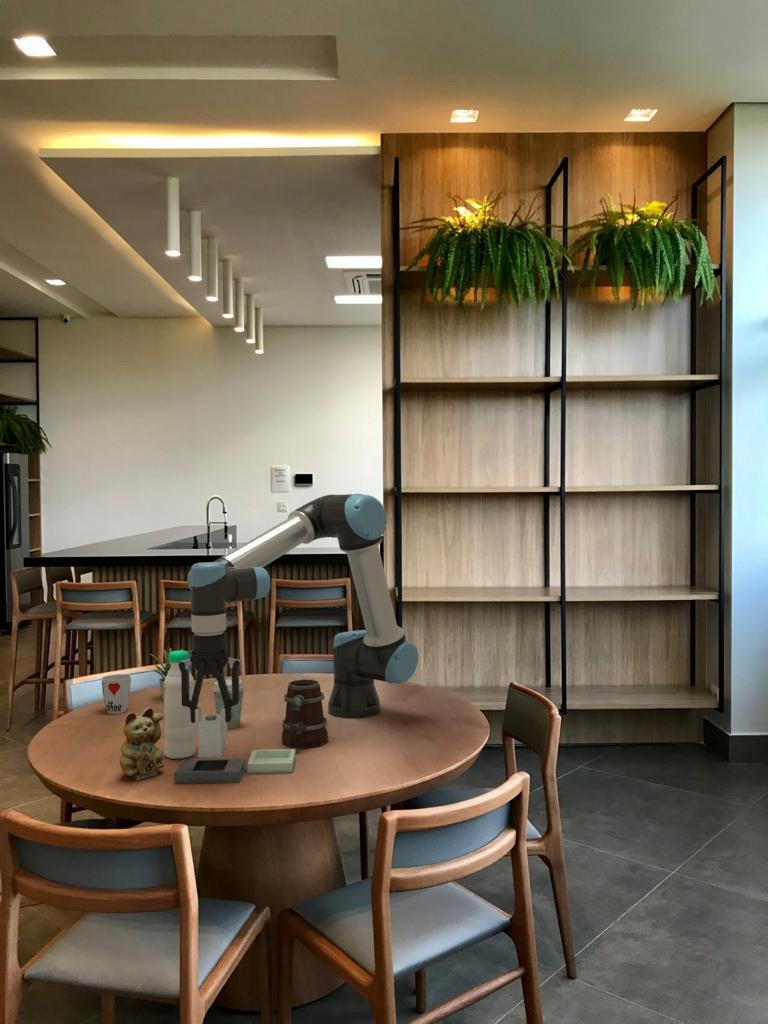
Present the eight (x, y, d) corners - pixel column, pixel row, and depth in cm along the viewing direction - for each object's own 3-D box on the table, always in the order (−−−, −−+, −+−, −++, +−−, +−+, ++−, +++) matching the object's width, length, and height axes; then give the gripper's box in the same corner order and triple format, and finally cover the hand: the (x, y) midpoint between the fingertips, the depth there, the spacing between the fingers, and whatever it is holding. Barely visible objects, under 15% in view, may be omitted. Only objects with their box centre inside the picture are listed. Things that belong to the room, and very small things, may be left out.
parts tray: (295, 758, 189) (295, 749, 189) (292, 772, 179) (292, 763, 179) (253, 759, 188) (253, 749, 188) (247, 773, 178) (247, 764, 178)
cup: (95, 713, 229) (95, 679, 229) (115, 706, 237) (114, 673, 236) (118, 716, 226) (118, 681, 226) (137, 709, 234) (136, 675, 233)
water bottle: (179, 761, 187) (178, 655, 186) (158, 756, 190) (157, 652, 190) (201, 753, 193) (200, 650, 192) (180, 748, 196) (179, 647, 196)
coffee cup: (237, 731, 211) (237, 686, 210) (207, 729, 212) (207, 685, 212) (249, 722, 219) (249, 679, 219) (220, 720, 221) (220, 677, 221)
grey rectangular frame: (245, 768, 182) (245, 758, 182) (239, 782, 173) (239, 771, 173) (183, 769, 181) (183, 759, 181) (174, 783, 172) (174, 772, 172)
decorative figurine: (130, 784, 172) (129, 715, 172) (110, 776, 177) (110, 709, 177) (169, 773, 179) (168, 706, 179) (149, 765, 185) (148, 700, 184)
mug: (289, 733, 208) (288, 676, 208) (333, 735, 206) (333, 678, 206) (269, 752, 193) (268, 691, 193) (317, 755, 191) (316, 693, 190)
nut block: (225, 749, 180) (224, 712, 179) (221, 756, 175) (220, 719, 174) (202, 750, 179) (201, 713, 179) (198, 757, 174) (197, 720, 174)
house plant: (208, 697, 247) (207, 645, 247) (174, 707, 235) (173, 652, 235) (176, 691, 255) (175, 640, 254) (141, 701, 243) (141, 647, 243)
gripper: (252, 628, 180) (254, 730, 181) (171, 630, 180) (174, 732, 180) (247, 634, 173) (250, 740, 174) (164, 636, 172) (166, 743, 173)
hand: (211, 736), depth 177 cm, fingers closed on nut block, 5 cm apart
